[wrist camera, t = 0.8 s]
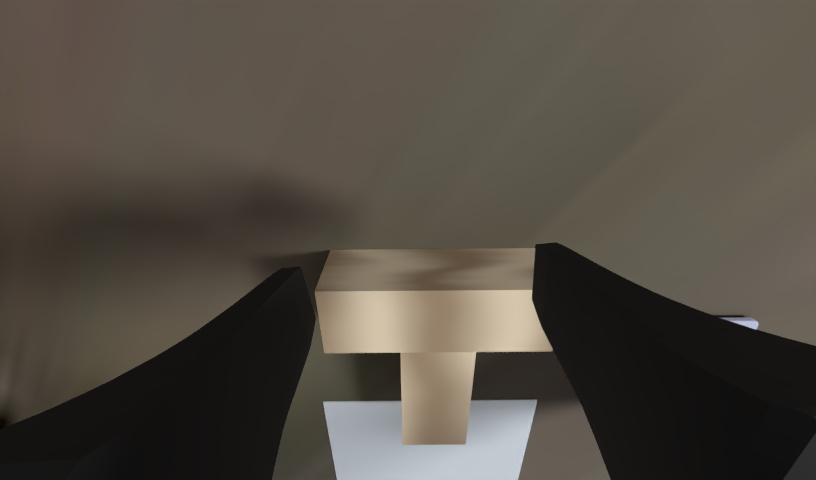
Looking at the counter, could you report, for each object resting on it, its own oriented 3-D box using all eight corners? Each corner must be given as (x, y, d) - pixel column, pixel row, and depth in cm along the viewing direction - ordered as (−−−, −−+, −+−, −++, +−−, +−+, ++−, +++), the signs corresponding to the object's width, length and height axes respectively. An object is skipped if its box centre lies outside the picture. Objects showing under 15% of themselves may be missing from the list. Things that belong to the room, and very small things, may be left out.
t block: (539, 248, 20) (567, 289, 17) (512, 390, 26) (528, 443, 22) (330, 249, 20) (314, 291, 17) (348, 391, 26) (339, 445, 22)
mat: (536, 396, 27) (537, 400, 26) (509, 508, 34) (509, 511, 34) (323, 398, 27) (322, 402, 26) (343, 509, 34) (343, 513, 34)
